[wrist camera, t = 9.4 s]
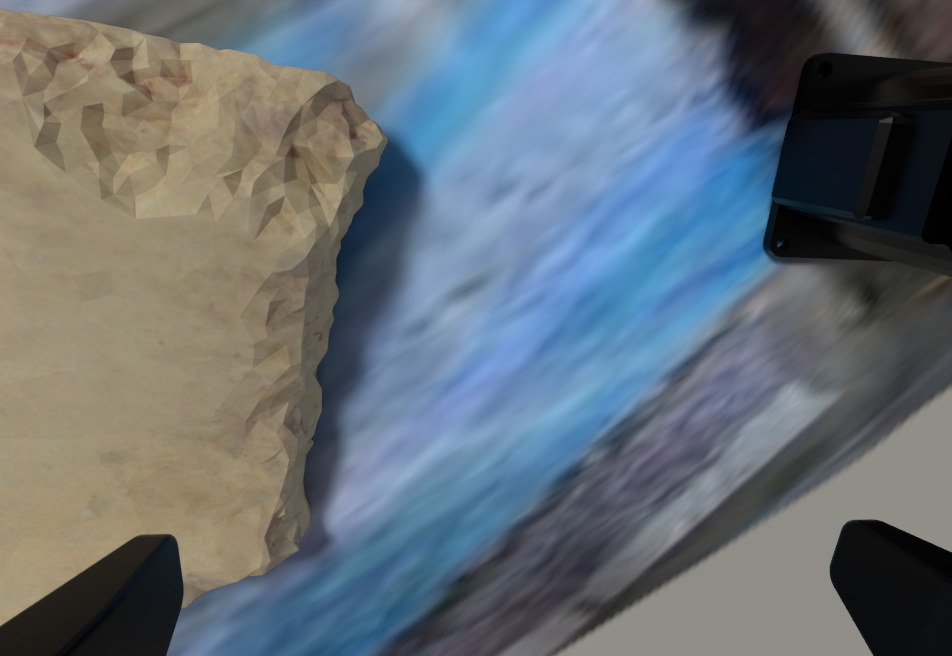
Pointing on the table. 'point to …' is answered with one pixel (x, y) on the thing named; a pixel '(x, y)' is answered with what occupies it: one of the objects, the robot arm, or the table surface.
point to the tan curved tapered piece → (162, 297)
